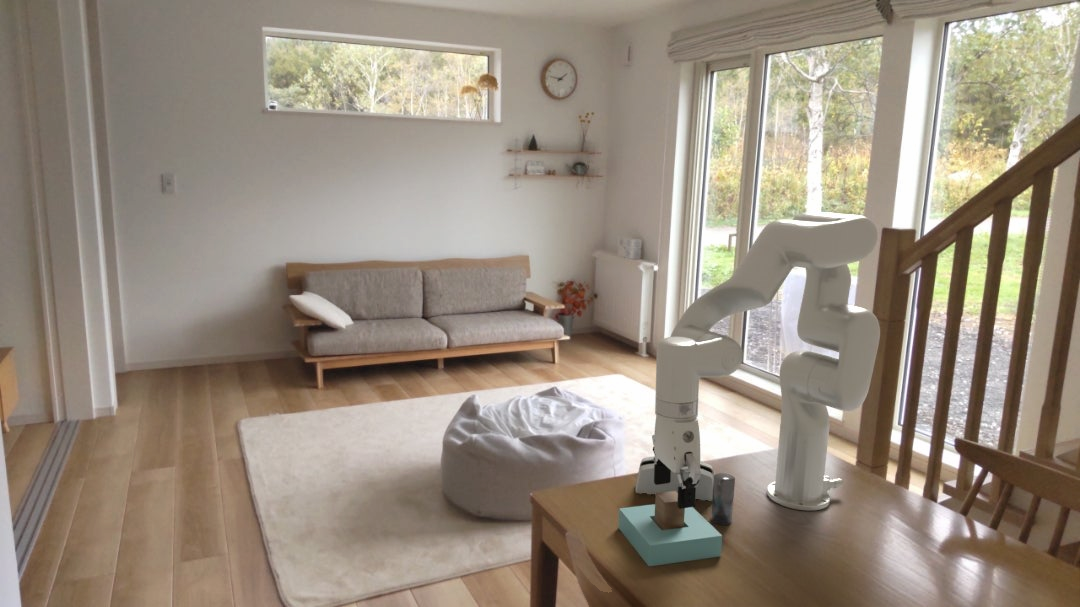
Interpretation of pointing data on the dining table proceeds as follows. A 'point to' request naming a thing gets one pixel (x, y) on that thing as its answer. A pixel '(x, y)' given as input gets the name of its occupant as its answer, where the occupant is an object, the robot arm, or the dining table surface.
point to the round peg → (722, 499)
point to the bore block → (669, 536)
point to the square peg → (668, 511)
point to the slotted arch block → (674, 480)
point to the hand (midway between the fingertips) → (673, 494)
